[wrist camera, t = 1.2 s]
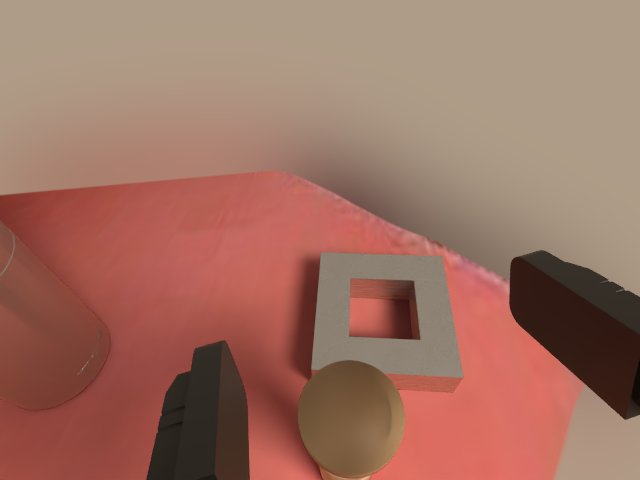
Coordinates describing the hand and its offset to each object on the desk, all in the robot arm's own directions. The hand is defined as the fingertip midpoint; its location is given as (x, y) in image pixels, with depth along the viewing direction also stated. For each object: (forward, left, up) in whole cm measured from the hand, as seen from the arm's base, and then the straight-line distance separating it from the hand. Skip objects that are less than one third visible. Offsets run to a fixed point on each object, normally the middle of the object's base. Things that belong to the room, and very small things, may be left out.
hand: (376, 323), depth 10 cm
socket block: (+3, +12, -24) cm, 27 cm away
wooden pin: (0, 0, -24) cm, 24 cm away
